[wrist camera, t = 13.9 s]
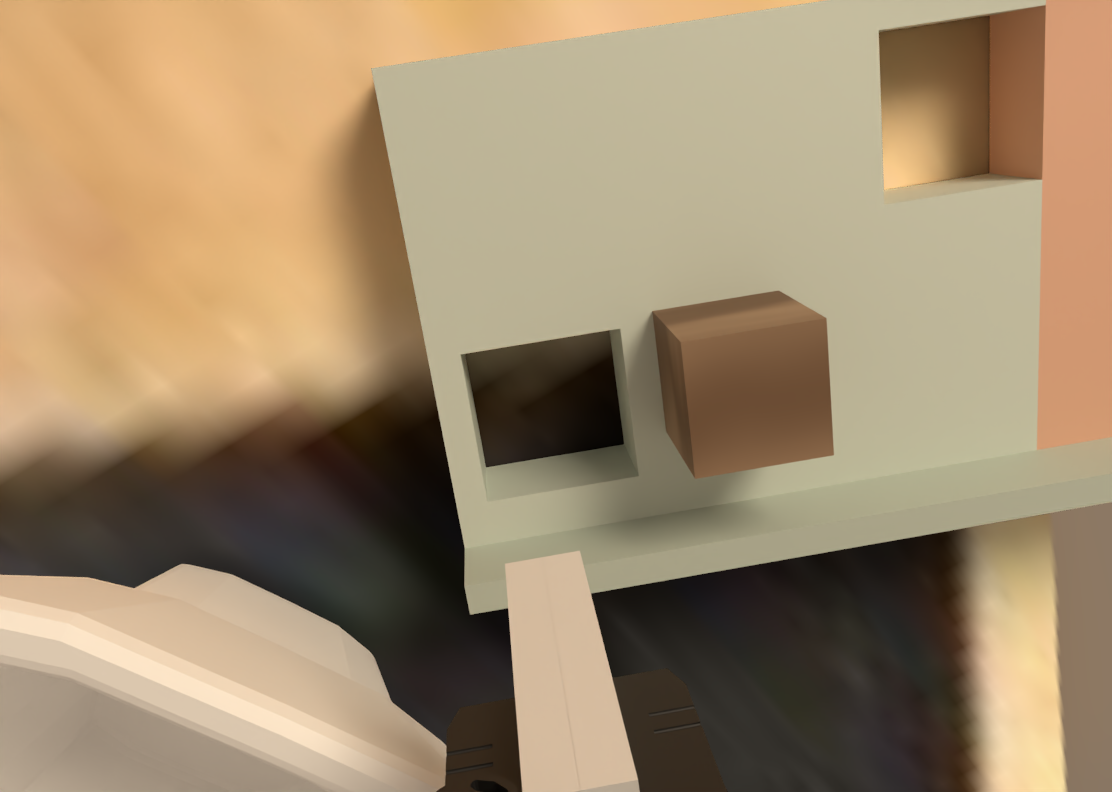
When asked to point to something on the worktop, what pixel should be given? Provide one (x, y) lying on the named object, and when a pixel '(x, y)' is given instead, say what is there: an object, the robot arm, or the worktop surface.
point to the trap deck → (767, 275)
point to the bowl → (194, 693)
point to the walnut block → (745, 382)
